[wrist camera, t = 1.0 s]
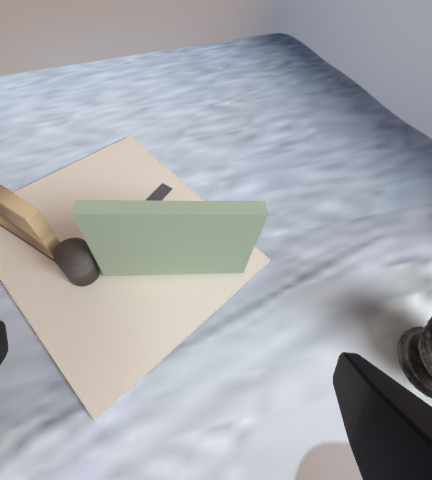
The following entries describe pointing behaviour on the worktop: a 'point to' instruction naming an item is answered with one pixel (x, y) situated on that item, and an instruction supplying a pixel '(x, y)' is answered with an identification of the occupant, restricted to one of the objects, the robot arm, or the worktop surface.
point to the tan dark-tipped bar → (48, 239)
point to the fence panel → (170, 235)
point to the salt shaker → (417, 357)
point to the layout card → (109, 281)
